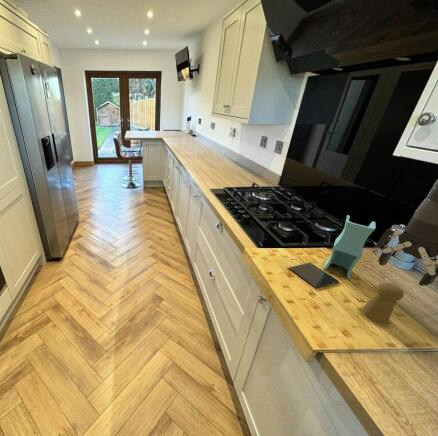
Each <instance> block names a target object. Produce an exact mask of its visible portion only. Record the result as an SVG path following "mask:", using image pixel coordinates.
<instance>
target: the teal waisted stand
mask: <svg viewBox="0 0 438 436" xmlns="http://www.w3.org/2000/svg"><path fill="white" fill-rule="evenodd" d="M350 217H351V216H350V215H348V214H347V215H346V219H345V224H344V227H343V230H342V231H341V232H340V234H339V235H338V236H337V238H336V239H335V240H334V244H333V247H332V251H331V254H330V255H329V257H328V259H326V261H325V264H324V267H323V270H325V271H327V269H328V268H329V267H330V265H331V264H334V265H337V266H339V267H342V268H344V269H345V270H347V272H346V279H351V275H352V271H353V269H354V267H355V266H356V264H357V263H358V262H359V261H360V260H361V259H362V257H363V251H364V246H365V243H366V241H367V239H368V238H369V237H370V235H371V234H372V233H373V232H375V229H376V228H377V227H376V226H377V225H376V221H373V220H372V221H371V223H370V224H369V225H368V226H366V225H363V224H359V223H356V222H352V221H350Z"/></svg>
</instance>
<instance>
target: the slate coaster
mask: <svg viewBox="0 0 438 436" xmlns="http://www.w3.org/2000/svg"><path fill="white" fill-rule="evenodd" d="M288 270H289V271H291V272H292V273H294V274H295V275H296V276H298V277H299V278H301V280H304V282H306V284H309V285H310V286H311V287H313V288H314V289H319V288H323V287H327V286H329V285H330V286H331V285H334V284H338V283H339V282H340V280H339V279H337V278H336V277H334V276H332V275H331V274H329V273H328V272H326V271H324V269H321V268H320V267H318V266H317V265H316V264H314V263H313V262H306V263H303V264H302V263H301V264H298V265H294V266H290V267H288Z"/></svg>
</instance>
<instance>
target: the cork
mask: <svg viewBox="0 0 438 436" xmlns="http://www.w3.org/2000/svg"><path fill="white" fill-rule="evenodd" d="M404 295H405V294H404V290H403V289H402V288H401V287H399V286H398V285H396V284H393V283H390V282H381V283H379V284H378V285H377V286H376V293H375V294H374V295H373V296H372V297H371V298H370V299H369V300H368V301H367V302H366V303H365V305H364V306H362V308H361V313H362V314H363V315H364V316H365V317H366V318H367V319H369V320H370V321H373V322H375V323H378V324H380V325H381V324H382V325H386V324H388V323H389V321H390V319H391V316H392V314H393V312H394V310H395V309H394V308H395V307H396V304H397V301H400V300H402V299H403V298H404Z"/></svg>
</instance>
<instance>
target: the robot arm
mask: <svg viewBox="0 0 438 436" xmlns="http://www.w3.org/2000/svg"><path fill="white" fill-rule="evenodd" d="M413 213H414V214H413V215H412V217H411V218H410V220H409V222H408V224H407V225H406V226H405V229H404V230H403V232H401V231H398V230H397V228H395V227H392V228H391V227H390V228H387V229H386V230H384V232H383V233H382V235H381V236H380V239H379V240H378V241H377V242H376V244H375V246H376V248H377V249H380V250H381V253H380V256H379V258H378V259H377V260H378V261H377V262H378V265H380V266H386V265H387V264H388V263H389V261H390V259H391V257H393V252H396V251H399V250H401V251H402V252H403V254H406V255H410V256H412V257H413V258H415V259H417V260H422V262H423V265H424V266H425V267H426V271H427V272H425V273H424V274H423V276H422V278H421V279H420V281H419V282H418V285H419V286H420V287H423V286H429V285H432V284H433V282H434V281H435V280H436V278H437V277H438V178H437V179H436V180H435V182H434V183H433V185H432V186H431V189H430V190H429V192H428V193H427V195H426V197H425V198H424V200H422V202H421V203H420V204H419V206H418V207H417V209H415V210H414V212H413ZM394 238H397V240H398V244H396V245H393V246H389V243H390V242H391V240H392V239H394Z"/></svg>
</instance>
